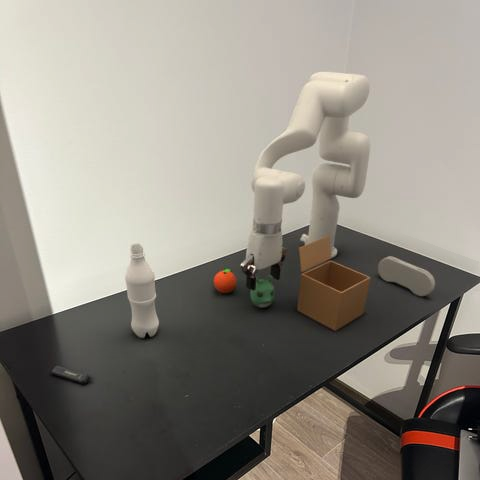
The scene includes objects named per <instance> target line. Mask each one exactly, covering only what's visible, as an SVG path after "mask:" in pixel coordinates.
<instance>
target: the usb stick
mask: <svg viewBox="0 0 480 480" xmlns="http://www.w3.org/2000/svg"><path fill="white" fill-rule="evenodd" d="M51 374H52V375H53V376H57V377H59V378H63V379H66V380H70V381H73V382H76V383H79V384H82V385H84V384H87V383H88V382H89V381H90V379H91V376H90V375H89V374H86V373H83V372H80V371H77V370H73V369H70V368H67V367H63V366H60V365H56V366H54V367H53V368H52V369H51Z"/></svg>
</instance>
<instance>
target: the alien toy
mask: <svg viewBox="0 0 480 480" xmlns="http://www.w3.org/2000/svg"><path fill="white" fill-rule="evenodd" d="M255 277H256V289H255V290H254V291H253V290H251V289H250V300H251V302H252V304H253V305H254V306H255V307H257V308H260V309H264V308H267V307H269V306H270V305H271V304H272V303H273V301H274V299H275V287H274V285H273V284H272V283H271V282H270V281H271V280H273V279H274V278H273V276H272V275H270V274H268V275H267V278H268V279H265V278H264V279H263V278H262V279H261V278H260V277H258V276H255Z"/></svg>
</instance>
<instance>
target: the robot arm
mask: <svg viewBox="0 0 480 480" xmlns="http://www.w3.org/2000/svg"><path fill="white" fill-rule="evenodd" d="M370 87H371V86H370V82H369V79H368V77H367V76H366V75H363V74H357V73H348V72H347V73H346V72H335V71H318V72H314V73H313V74H312V75H311V76H310V78H309V80H308V82H306V84H304V85H303V87H302V88H301V91H300V93H299V96H298V98H297V101H296V104H295V106H294V109H293V112H292V115H291V117H290V120H289V123H288V125H287V128H286V130H285V131H284V132H283V133H281V134H280V135H278V136H277V137H276V138H274V139H272V140H271V141H270V143H269V144H268V145H267V146H265V148H264V149H263V150H261V151H262V152H260V155H259V157H258V158H257V162H256V164H255V166H254V170H253V173H252V176H251V180H250V185H251V186H250V187H251V190H252V192H253V215H252V230H251V231H250V232H249V236H248V240H247V245H246V254H245V259H244V260H243V261H242V262H241V263H240V268H241V272H242V273H243V274H244V275H245V276H246V277H245V278H246V279H245V287H246V288H248V289H249V290H250V291H251V290H253V291H254V290H255V289H256V277H257V276H256V275H257V273H258V271H260V270H264V269H265V268H269V267H270V271H269V272H270V274H269V275H272V276H273V278H272V279H274V280H276V281H279V280H280V279H281V268H282V267H283V263H284V260H285V259H286V255H287V254H288V248H285V247H283V231H282V224H283V223H282V222H283V210H284V205H286V204H292V203H295V202H297V201H298V200H299V199H300V198H301V197H303V195H304V193H305V191H306V182H305V179H304V177H303V176H302V175H300V174H298V173H296V172H291V171H285V170H281V169H275V168H273V167H274V165H275V164H276V163H277V162H278V161H279V160H281V159H282V158H283V157H285V156H287V155H290V154H293V153H296V152H299V151H303V150H306V149H309V148H311V147H313V146H314V145H315V144H316V142H317V140H318V139H319V140H318V153H319V154H318V155H319V157H320V159H322V160H324V161H327V162H323V163H320V164H317V165H316V166H315V168H314V169H313V172H312V175H311V186H312V200H311V208H310V209H311V210H310V216H309V217H310V218H309V227H308V233H307V234H305V233H303V234H302V235H301V237H300V239H299V241H300V242H302V243H304V245H307V244H309V243H312V242H314V241H317V240H319V239H322V238H324V237H326V236H330V249H331V259H333V258H335V257H337V255H338V249H337V248H336V247H335V240H336V234H337V228H338V220H339V215H340V214H339V213H340V202H339V199H338V197H343V198H349V199H357V198H359V197H361V195H363V192H364V190H365V186H366V181H367V173H368V167H369V160H370V159H369V158H370V154H371V153H370V152H371V141H370V137H368V135H367V134H365V133H363V132H356V131H351V130H349V121H350V117H351V116H352V115H353V114H354V113H356V112H357V111H359V110H360V109H361V108H362V107H363V106H364V105H365V104H366V102H367V100H368V97H369V95H370ZM329 162H330V163H329ZM331 162H332V163H331ZM336 163H338V164H336ZM342 164H343V165H342ZM347 165H349V166H347ZM337 196H338V197H337ZM252 269H253V270H252Z"/></svg>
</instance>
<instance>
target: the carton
mask: <svg viewBox="0 0 480 480" xmlns="http://www.w3.org/2000/svg"><path fill="white" fill-rule="evenodd" d="M371 279H372V277H371V276H368V275H366V274H364V273H362V272H359V271H357V270H354V269H351V268H350V267H347V266H346V265H342V264H340V263H338V262H335V261H333V260H327V261H325V262H323V263H321V264H319V265H317V266H314V267H312V268H310V269H308V270H306V271H303V272H301V273H300V280H299V288H298V297H297V305H296V311H297V312H299V313H301V314H302V315H305V316H307V317H309V318H311V320H314V321H316V322H318V323H320V324H321V325H324V326H325V327H327V328H329V329H331V330H332V331H334V332H336V331H338V330H339V329H341V328H343V327H344V326H346V325H348V324H349V323H351V322H352V321H354V320H356V319H357V318H359V317H360V316H362V315H363V314H364V313H365V307H366V303H367V299H368V293H369V290H370V289H369V288H370V285H371Z"/></svg>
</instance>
